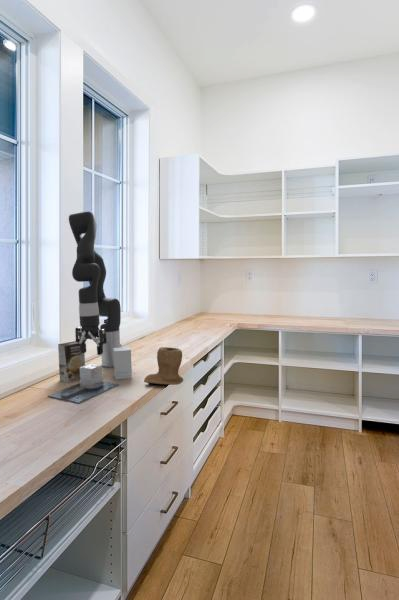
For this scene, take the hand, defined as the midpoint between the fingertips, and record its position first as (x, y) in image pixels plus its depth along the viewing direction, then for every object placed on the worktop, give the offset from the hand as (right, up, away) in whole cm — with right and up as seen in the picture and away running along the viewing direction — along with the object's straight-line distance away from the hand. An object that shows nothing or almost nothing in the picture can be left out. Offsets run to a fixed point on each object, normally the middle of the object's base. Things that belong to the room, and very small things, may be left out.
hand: (91, 353), depth 149 cm
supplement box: (+9, -13, +15) cm, 22 cm away
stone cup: (+29, -13, +6) cm, 33 cm away
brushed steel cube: (0, -12, +1) cm, 12 cm away
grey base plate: (-2, -15, -2) cm, 15 cm away
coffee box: (-12, -13, +13) cm, 22 cm away
